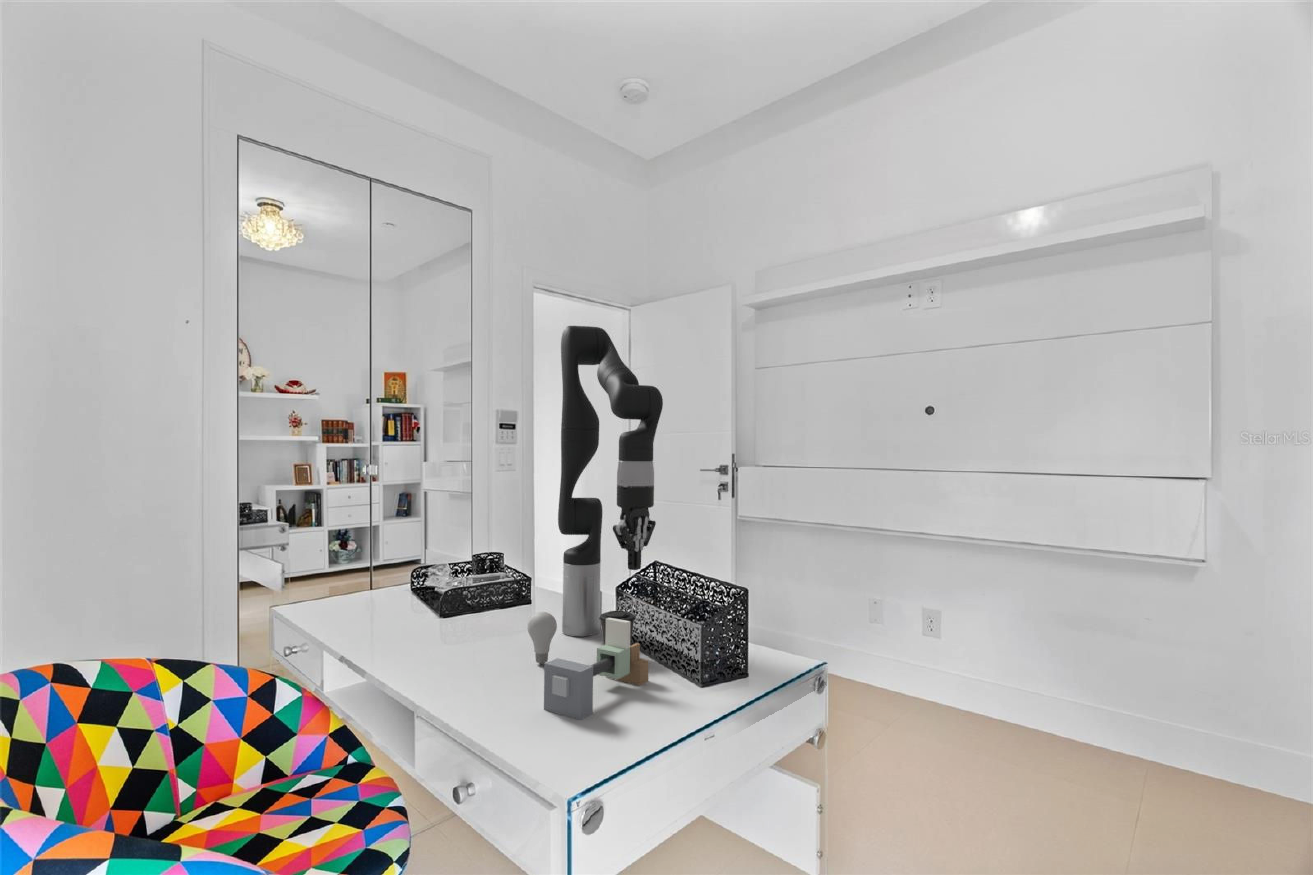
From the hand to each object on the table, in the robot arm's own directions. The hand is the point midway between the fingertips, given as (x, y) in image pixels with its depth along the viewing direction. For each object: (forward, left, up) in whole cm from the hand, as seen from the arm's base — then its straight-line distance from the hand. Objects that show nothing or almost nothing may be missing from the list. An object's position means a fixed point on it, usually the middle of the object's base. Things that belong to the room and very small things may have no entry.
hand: (634, 569), depth 134 cm
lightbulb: (+4, -20, -22) cm, 30 cm away
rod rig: (+11, 0, -22) cm, 24 cm away
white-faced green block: (+7, 0, -19) cm, 20 cm away
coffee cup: (-8, -9, -22) cm, 25 cm away
